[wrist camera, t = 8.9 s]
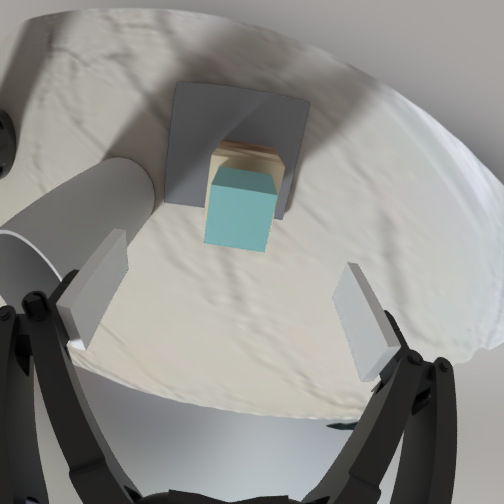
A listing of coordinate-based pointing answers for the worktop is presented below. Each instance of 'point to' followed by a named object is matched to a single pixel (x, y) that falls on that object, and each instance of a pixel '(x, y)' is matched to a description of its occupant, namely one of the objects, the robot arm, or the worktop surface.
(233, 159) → the beech block
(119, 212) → the cylinder vase
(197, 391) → the worktop surface
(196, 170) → the slate board
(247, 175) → the teal block
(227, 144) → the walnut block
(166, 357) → the worktop surface
